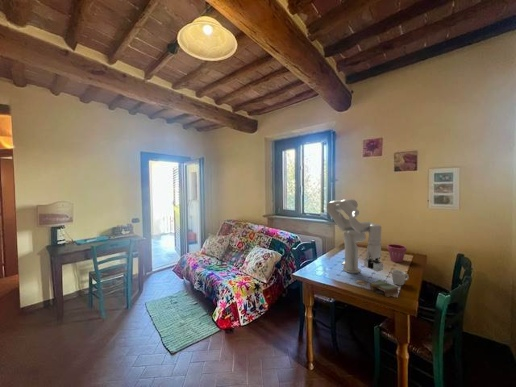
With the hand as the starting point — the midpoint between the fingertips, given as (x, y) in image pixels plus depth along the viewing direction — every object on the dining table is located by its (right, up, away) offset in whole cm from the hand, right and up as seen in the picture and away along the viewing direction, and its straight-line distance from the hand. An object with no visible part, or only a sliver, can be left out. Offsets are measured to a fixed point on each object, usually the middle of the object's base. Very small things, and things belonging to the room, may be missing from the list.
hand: (373, 266), depth 157 cm
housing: (0, -1, 0) cm, 1 cm away
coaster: (-9, -10, -3) cm, 14 cm away
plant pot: (+41, -8, +40) cm, 58 cm away
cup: (+16, -10, -6) cm, 19 cm away
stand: (-2, -10, -16) cm, 19 cm away
